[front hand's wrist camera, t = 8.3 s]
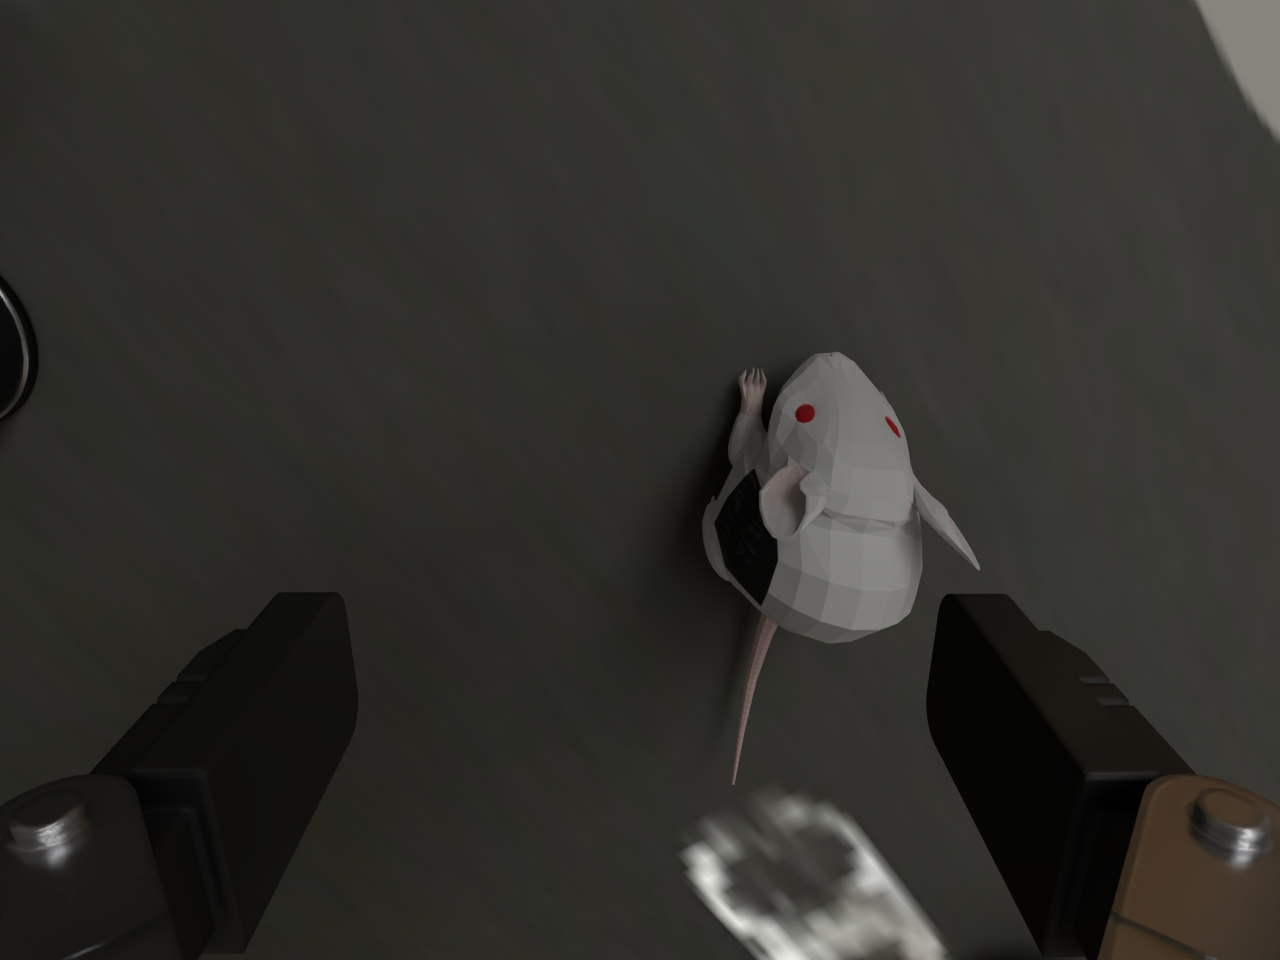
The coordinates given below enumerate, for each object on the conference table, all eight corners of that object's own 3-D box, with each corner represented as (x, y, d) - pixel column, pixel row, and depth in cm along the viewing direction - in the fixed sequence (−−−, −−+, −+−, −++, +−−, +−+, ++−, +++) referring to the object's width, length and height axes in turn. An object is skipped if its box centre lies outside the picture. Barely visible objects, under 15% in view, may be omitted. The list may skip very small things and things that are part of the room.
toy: (912, 351, 40) (1059, 452, 26) (802, 749, 48) (868, 989, 34) (729, 322, 39) (778, 409, 25) (649, 729, 48) (654, 964, 34)
